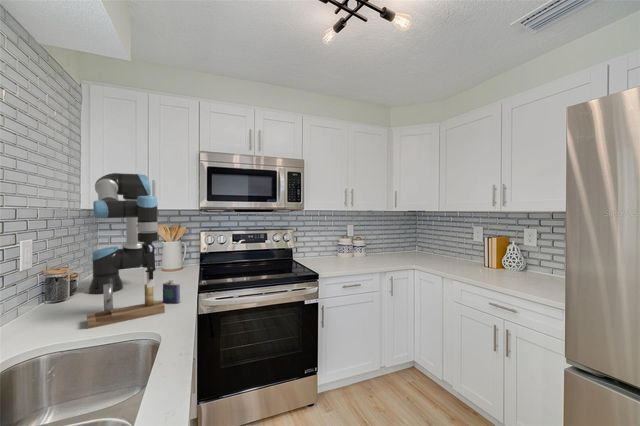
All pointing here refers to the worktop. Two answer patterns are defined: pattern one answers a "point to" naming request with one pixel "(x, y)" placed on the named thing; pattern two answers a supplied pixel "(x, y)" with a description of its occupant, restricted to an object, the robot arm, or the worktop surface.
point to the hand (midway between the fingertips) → (148, 284)
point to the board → (127, 311)
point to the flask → (171, 293)
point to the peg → (108, 297)
